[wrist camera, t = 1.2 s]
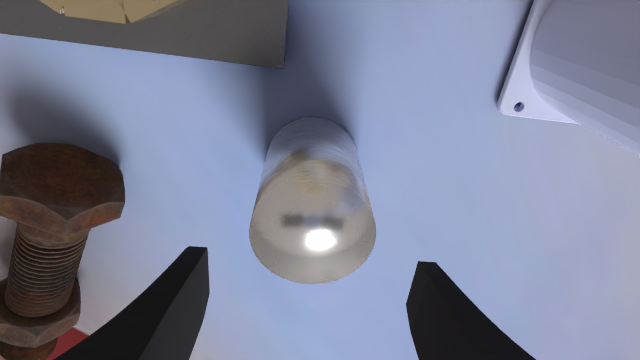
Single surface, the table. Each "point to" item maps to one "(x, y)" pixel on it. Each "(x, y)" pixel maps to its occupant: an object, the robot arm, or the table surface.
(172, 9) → the ring plate
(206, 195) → the table surface
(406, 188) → the table surface
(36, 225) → the bolt
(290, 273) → the piston
